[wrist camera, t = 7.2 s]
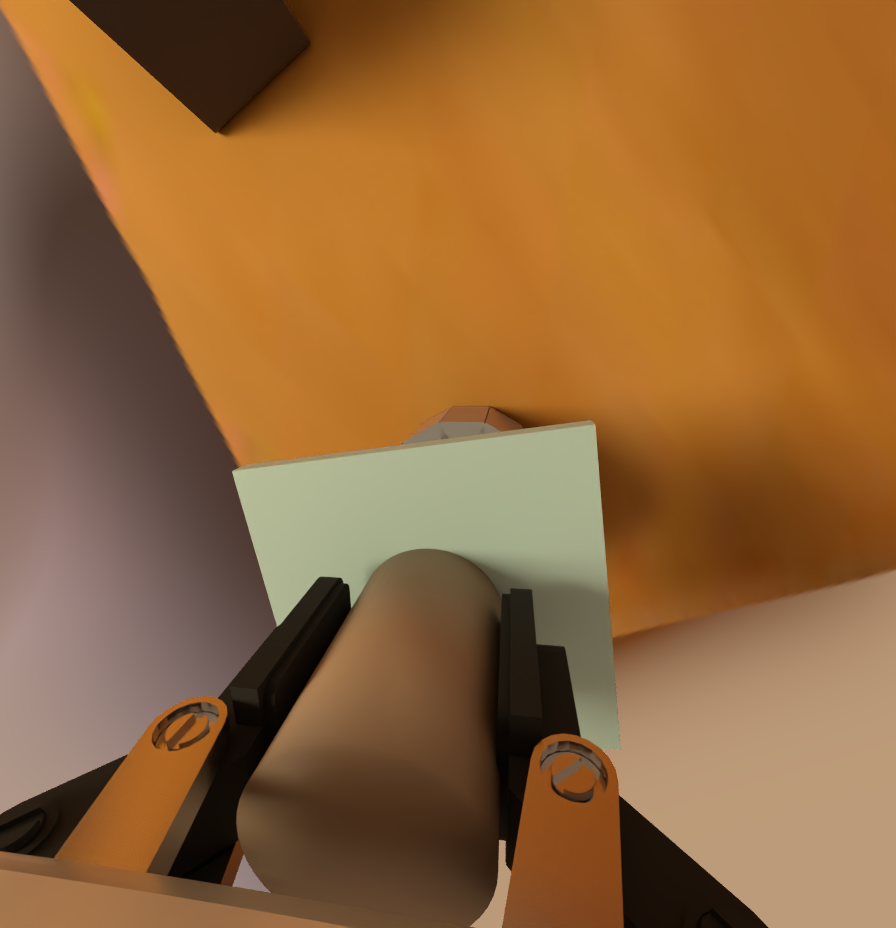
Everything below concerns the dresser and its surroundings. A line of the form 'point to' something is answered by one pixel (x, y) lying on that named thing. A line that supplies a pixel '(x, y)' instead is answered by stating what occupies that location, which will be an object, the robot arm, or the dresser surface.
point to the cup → (462, 424)
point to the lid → (419, 656)
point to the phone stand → (204, 47)
